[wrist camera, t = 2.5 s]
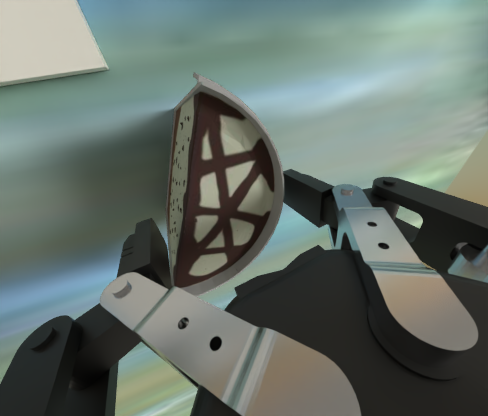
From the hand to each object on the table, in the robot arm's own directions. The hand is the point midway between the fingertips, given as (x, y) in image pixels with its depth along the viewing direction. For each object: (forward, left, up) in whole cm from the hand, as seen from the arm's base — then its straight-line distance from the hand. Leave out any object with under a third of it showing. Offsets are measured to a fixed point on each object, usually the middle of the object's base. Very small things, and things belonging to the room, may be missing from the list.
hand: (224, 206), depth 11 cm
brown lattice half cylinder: (0, 0, -8) cm, 8 cm away
